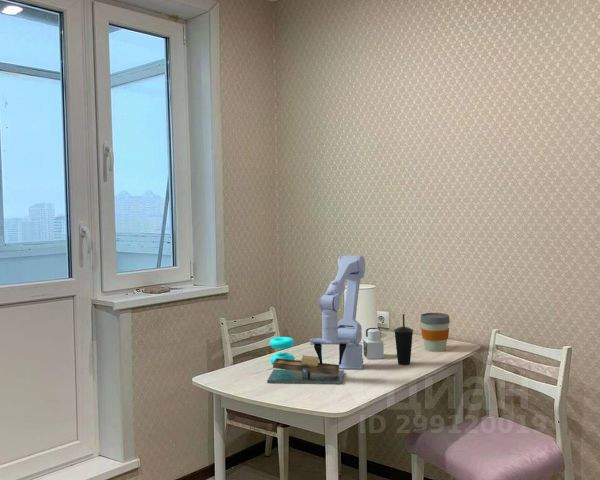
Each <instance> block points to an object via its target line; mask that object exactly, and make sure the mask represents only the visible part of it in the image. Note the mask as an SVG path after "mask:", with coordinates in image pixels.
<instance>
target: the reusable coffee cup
mask: <svg viewBox="0 0 600 480" xmlns="http://www.w3.org/2000/svg"><path fill="white" fill-rule="evenodd" d="M420 323H421V327H420V330H421V336H422V339H423V344H424V345H423V346H424V350H425V351H428V352H434V353H437V352H439V353H441V352H445V351H446V349H447V342H448V339H449V332H450V328H449V327H450V326H449V325H450V323H451V320H450V315H449V314H448V313H443V312H425V313H422V314H421V315H420Z"/></svg>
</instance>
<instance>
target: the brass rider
mask: <svg viewBox="0 0 600 480" xmlns="http://www.w3.org/2000/svg"><path fill="white" fill-rule="evenodd" d="M301 361H302V363H301V365H305V366H314V367H318V364H319V363H320V362H319V358H318V356H311V355H304V354H303V355H302V358H301Z"/></svg>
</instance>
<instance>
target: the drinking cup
mask: <svg viewBox="0 0 600 480" xmlns="http://www.w3.org/2000/svg"><path fill="white" fill-rule="evenodd" d="M393 331H394V337H395V348H396V357H397V365H400V366H409V365H411V357H412V345H413V334H414V329H413V328H410V327H409V326H406V325H405V313H402V326H399V327H395V328H394V329H393Z"/></svg>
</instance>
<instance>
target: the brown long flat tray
mask: <svg viewBox="0 0 600 480" xmlns="http://www.w3.org/2000/svg"><path fill="white" fill-rule="evenodd" d="M301 363H302V360H298V359H295V360H290V359H281V358H276V359H275V360H274V362H273V364H272V369H277V370H294V371H302V367H307V368H308V372H312V373H321V374H330V375H338V373H339V370H340V369H339V365H338V364H335V363H326V362H322V365H321V364H320V362H319V364H318V367H314V366H305V365H301Z"/></svg>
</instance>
